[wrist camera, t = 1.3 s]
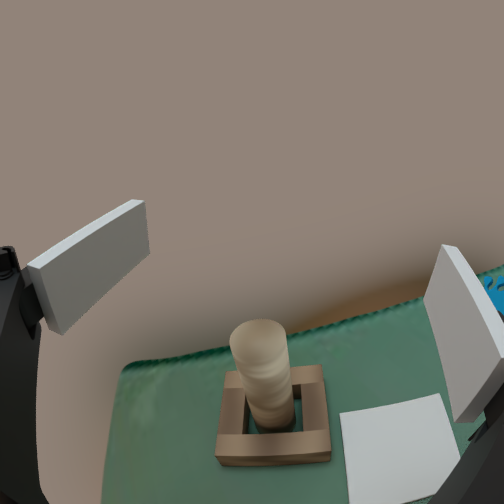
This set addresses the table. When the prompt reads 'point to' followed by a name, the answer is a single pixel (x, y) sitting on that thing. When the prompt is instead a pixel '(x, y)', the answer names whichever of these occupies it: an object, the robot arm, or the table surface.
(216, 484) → the table surface
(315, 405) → the pocket block
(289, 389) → the dowel
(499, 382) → the robot arm
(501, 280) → the gear
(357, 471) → the pad
